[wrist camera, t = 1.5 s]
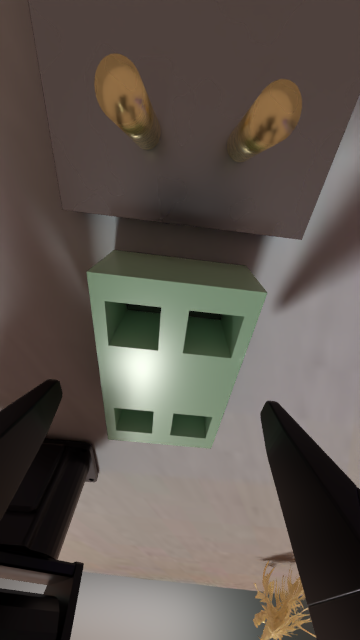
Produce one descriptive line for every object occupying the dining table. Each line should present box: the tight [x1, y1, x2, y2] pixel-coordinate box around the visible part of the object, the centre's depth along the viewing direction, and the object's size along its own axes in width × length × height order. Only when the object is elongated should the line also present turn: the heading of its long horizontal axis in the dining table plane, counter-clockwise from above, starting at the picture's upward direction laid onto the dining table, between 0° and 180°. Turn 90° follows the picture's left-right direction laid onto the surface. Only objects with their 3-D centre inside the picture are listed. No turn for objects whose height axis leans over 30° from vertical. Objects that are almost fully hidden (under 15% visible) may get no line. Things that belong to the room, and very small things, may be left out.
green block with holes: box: [87, 250, 267, 449], centre depth 11 cm, size 10×6×3 cm, turn 174°
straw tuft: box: [253, 561, 316, 640], centre depth 34 cm, size 11×15×9 cm
